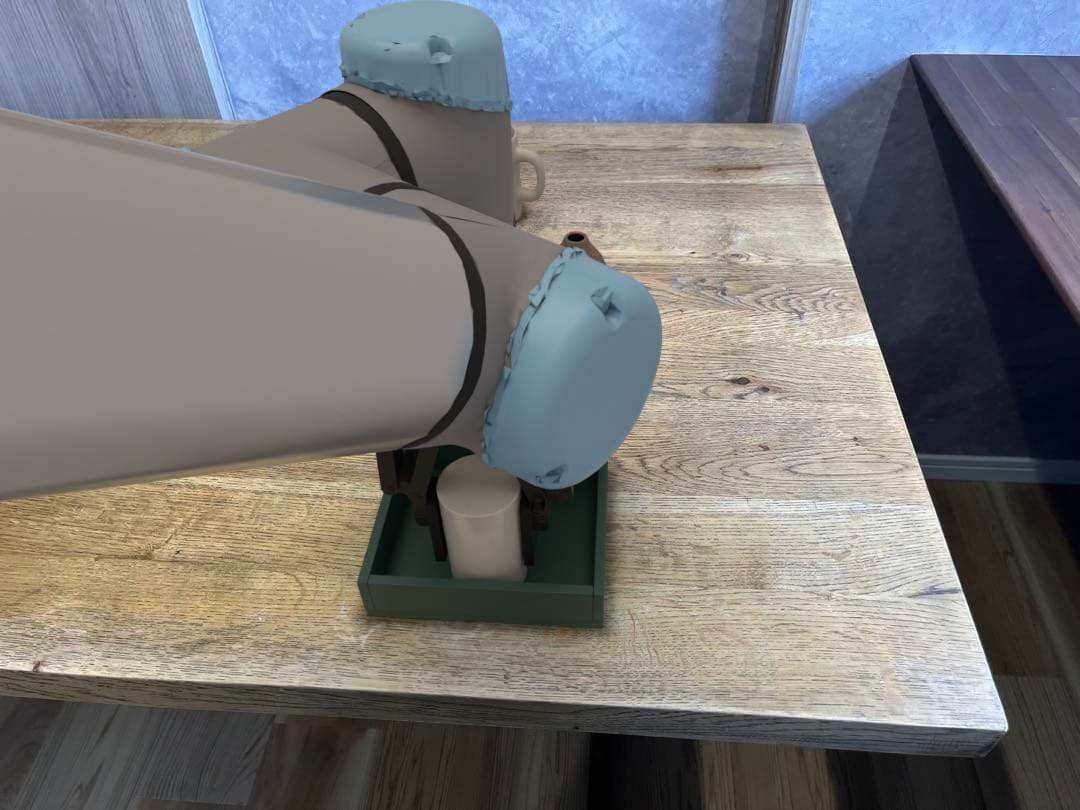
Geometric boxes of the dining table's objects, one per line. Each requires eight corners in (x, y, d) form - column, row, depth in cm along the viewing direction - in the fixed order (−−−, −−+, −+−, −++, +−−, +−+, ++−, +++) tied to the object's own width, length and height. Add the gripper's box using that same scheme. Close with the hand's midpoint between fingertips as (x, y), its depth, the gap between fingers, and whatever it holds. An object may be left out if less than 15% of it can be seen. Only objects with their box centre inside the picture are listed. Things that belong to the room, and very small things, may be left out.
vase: (570, 331, 88) (569, 262, 82) (533, 302, 92) (529, 234, 86) (619, 308, 90) (622, 239, 85) (581, 281, 95) (581, 213, 89)
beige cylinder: (492, 615, 61) (481, 531, 54) (435, 574, 64) (418, 489, 57) (543, 564, 64) (538, 478, 58) (487, 527, 67) (476, 441, 60)
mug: (447, 226, 105) (437, 144, 98) (471, 194, 111) (463, 115, 103) (536, 238, 102) (532, 155, 95) (555, 205, 108) (553, 124, 101)
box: (603, 628, 61) (604, 595, 58) (366, 616, 62) (356, 582, 59) (607, 474, 72) (608, 439, 69) (408, 466, 74) (401, 432, 71)
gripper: (622, 266, 49) (612, 516, 64) (313, 261, 50) (376, 506, 66) (621, 344, 43) (610, 597, 59) (274, 336, 45) (353, 584, 60)
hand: (487, 548), depth 62 cm, fingers closed on beige cylinder, 6 cm apart
